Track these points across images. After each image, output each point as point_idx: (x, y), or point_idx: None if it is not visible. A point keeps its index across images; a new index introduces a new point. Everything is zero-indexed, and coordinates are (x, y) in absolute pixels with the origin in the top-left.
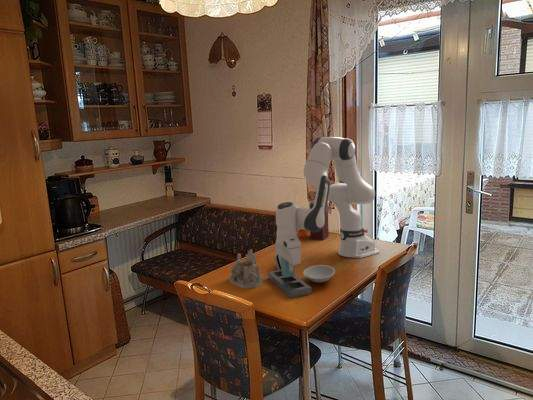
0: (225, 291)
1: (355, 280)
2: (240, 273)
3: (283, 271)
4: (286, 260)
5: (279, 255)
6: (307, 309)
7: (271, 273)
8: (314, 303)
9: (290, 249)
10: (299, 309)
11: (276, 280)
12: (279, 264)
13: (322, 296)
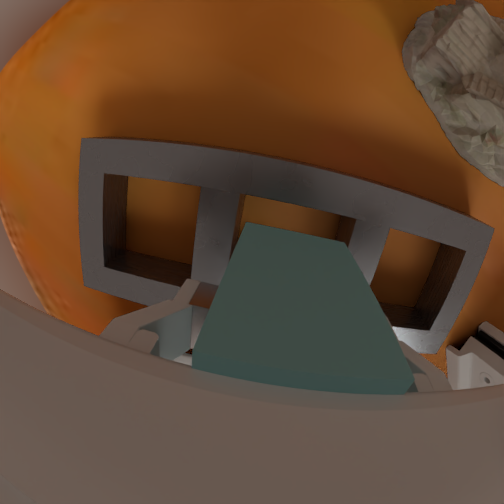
0: None
1: None
2: None
3: (303, 250)
4: (156, 359)
5: (485, 389)
6: (10, 156)
7: (466, 231)
8: (30, 211)
9: None
10: (19, 126)
11: (348, 175)
12: (494, 347)
13: (69, 284)
